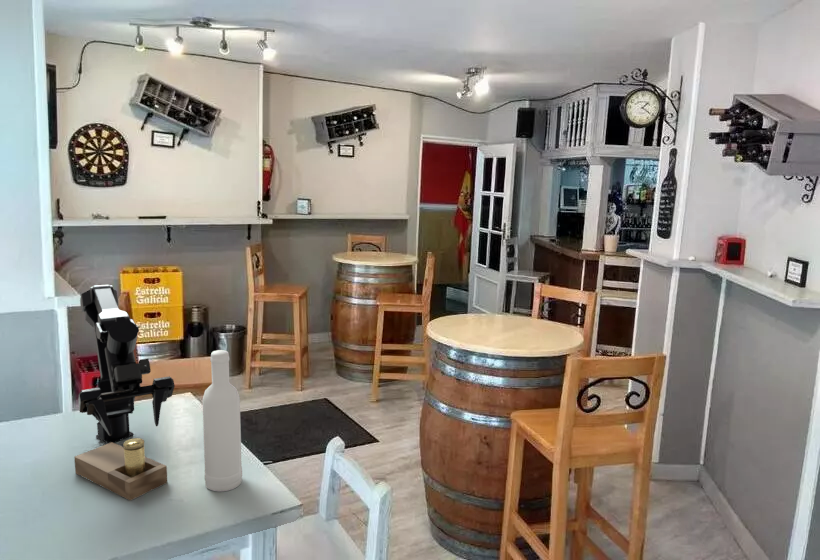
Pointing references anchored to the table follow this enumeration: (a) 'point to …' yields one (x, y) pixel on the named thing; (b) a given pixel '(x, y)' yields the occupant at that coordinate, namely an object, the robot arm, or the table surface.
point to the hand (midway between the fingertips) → (134, 430)
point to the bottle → (221, 428)
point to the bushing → (134, 457)
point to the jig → (119, 471)
